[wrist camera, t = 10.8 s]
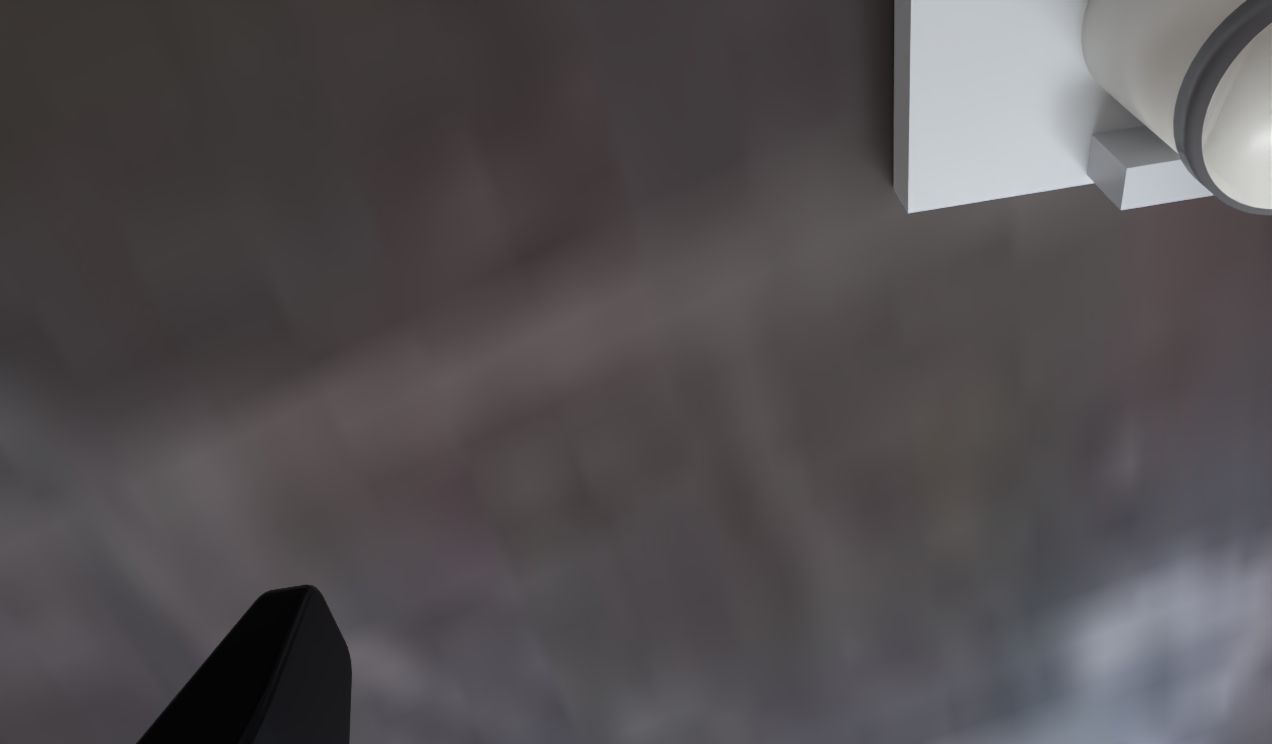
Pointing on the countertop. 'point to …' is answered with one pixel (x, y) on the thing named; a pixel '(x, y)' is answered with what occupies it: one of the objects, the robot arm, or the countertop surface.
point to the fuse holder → (1083, 100)
